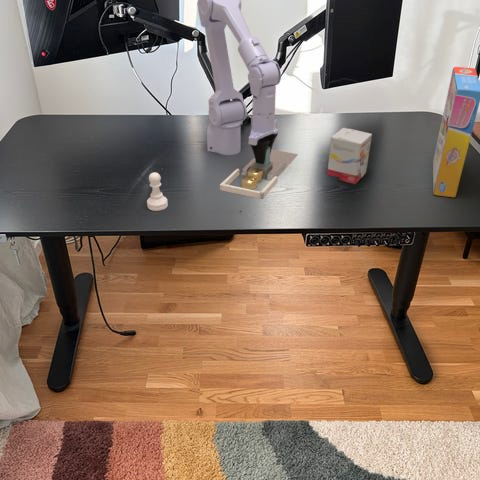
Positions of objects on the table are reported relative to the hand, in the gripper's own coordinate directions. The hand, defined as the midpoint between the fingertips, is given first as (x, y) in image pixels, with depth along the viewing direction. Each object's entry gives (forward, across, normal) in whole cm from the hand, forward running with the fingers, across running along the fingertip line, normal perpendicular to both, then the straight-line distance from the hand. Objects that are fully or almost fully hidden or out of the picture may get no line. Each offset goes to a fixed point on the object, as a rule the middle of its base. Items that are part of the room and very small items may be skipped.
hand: (262, 160), depth 139 cm
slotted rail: (+4, +6, 0) cm, 7 cm away
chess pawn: (+5, -26, +17) cm, 32 cm away
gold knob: (+3, -5, 0) cm, 6 cm away
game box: (+5, +18, -45) cm, 49 cm away
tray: (+4, -9, 0) cm, 10 cm away
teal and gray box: (+3, 0, 0) cm, 3 cm away
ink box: (+5, +10, -21) cm, 24 cm away
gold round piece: (+4, -9, 0) cm, 10 cm away
